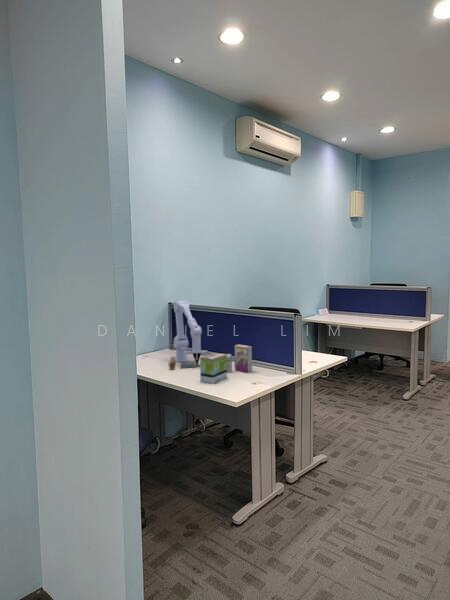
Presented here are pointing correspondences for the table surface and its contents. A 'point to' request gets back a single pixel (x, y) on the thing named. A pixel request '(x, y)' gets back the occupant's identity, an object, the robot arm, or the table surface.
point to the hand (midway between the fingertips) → (197, 364)
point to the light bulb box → (229, 363)
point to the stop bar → (172, 363)
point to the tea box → (213, 367)
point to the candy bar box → (243, 358)
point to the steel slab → (188, 364)
